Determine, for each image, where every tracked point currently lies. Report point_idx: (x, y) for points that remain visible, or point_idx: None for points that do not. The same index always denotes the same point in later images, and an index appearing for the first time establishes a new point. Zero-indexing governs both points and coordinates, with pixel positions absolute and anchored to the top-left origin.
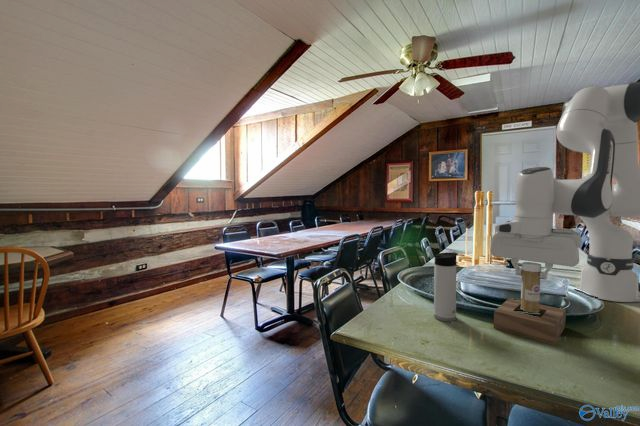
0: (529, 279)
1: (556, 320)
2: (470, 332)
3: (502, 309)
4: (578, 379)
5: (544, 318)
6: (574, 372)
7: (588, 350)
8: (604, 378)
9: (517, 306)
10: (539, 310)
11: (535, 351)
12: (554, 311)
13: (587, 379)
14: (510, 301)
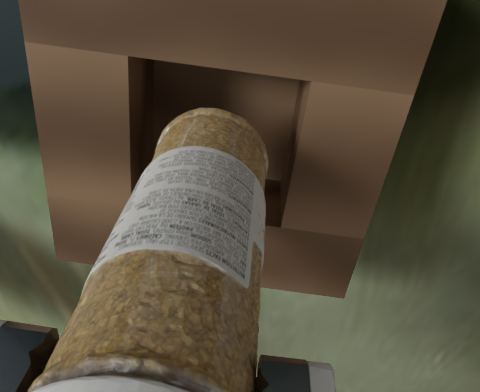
0: None
1: (356, 233)
2: (44, 279)
3: (79, 219)
4: (376, 385)
5: (297, 235)
6: (372, 362)
7: (456, 212)
8: (445, 357)
9: (129, 115)
10: (267, 164)
11: (270, 305)
12: (360, 80)
13: (398, 377)
14: (54, 30)
